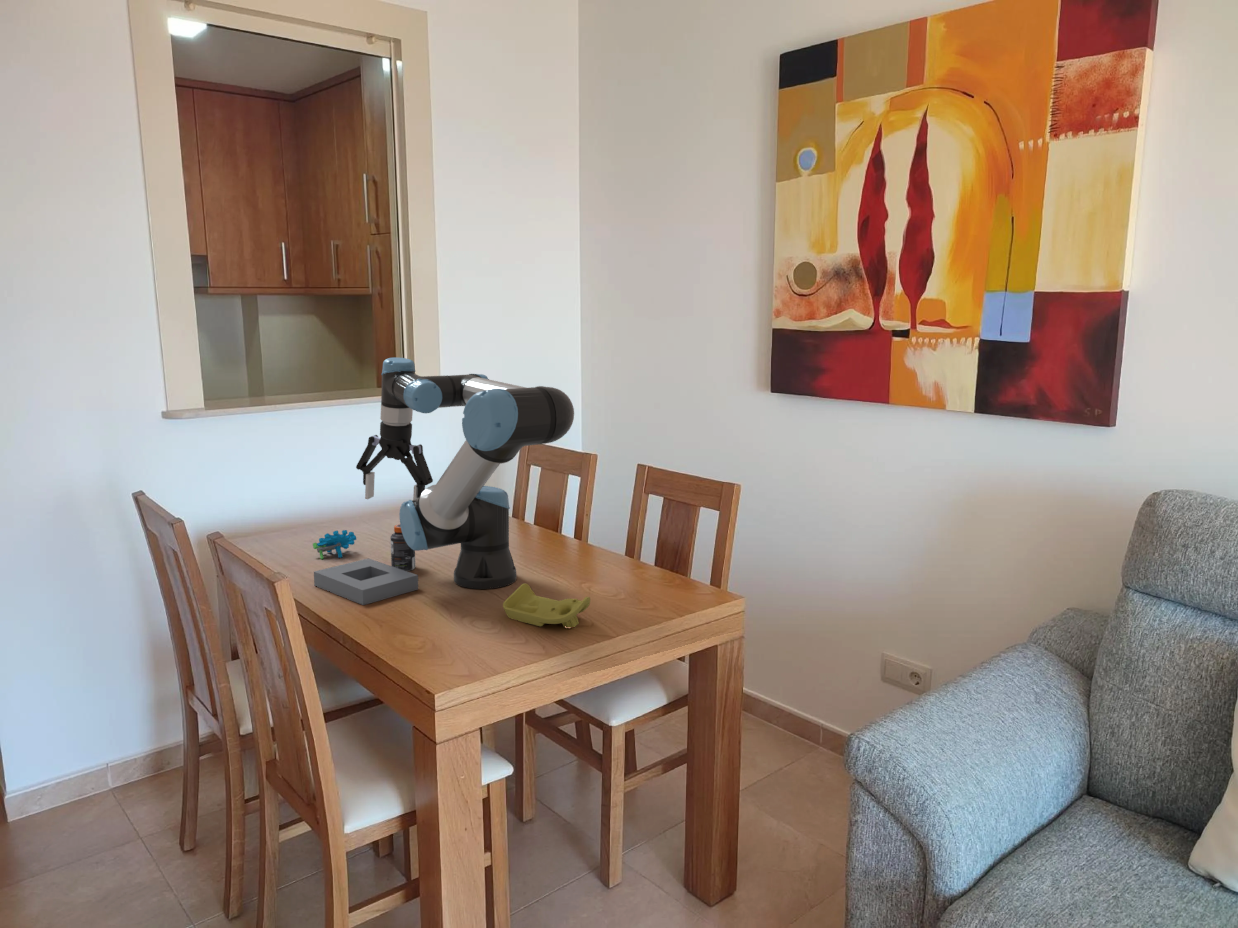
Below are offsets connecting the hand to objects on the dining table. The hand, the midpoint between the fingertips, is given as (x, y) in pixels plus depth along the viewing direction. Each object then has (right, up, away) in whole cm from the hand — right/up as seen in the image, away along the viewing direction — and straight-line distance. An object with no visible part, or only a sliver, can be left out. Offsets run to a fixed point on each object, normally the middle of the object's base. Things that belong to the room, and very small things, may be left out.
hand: (393, 503), depth 217 cm
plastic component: (+41, -24, -32) cm, 58 cm away
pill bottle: (+2, -17, +3) cm, 17 cm away
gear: (-19, -15, +14) cm, 27 cm away
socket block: (-3, -19, -12) cm, 23 cm away
